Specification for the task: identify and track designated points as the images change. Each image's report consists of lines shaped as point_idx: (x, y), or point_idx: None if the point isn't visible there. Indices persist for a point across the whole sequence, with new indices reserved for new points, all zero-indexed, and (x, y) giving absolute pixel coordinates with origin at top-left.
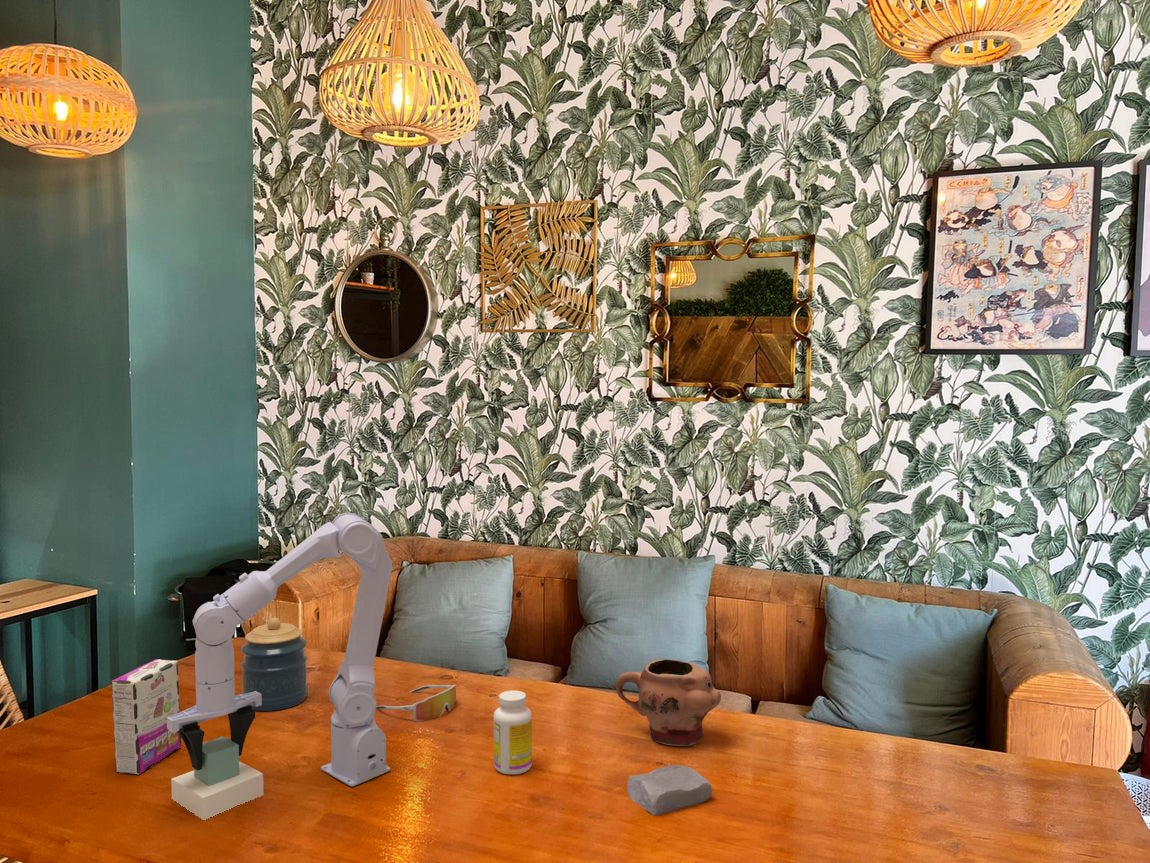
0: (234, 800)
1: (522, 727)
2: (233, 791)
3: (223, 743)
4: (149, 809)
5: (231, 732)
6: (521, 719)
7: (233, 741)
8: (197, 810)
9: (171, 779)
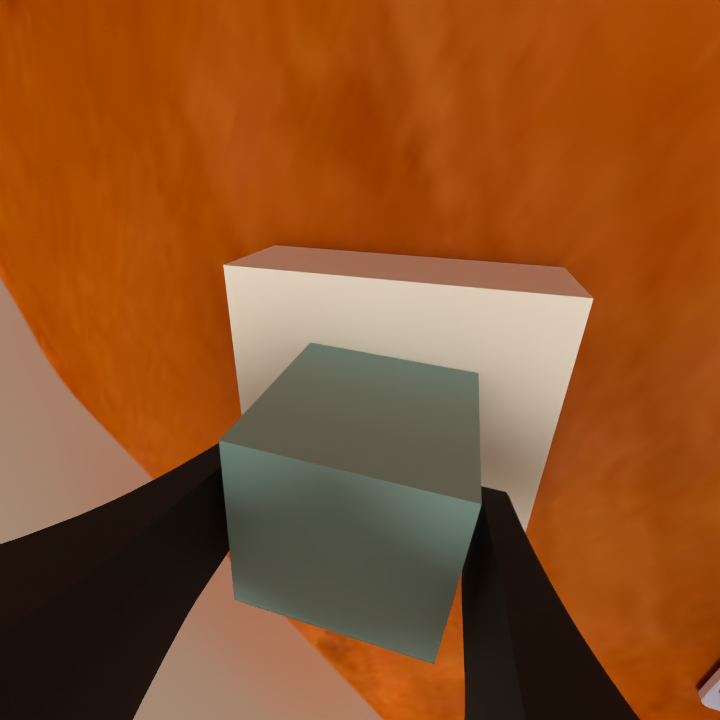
0: None
1: None
2: None
3: (386, 581)
4: (191, 241)
5: (499, 614)
6: None
7: (482, 576)
8: None
9: (225, 266)
